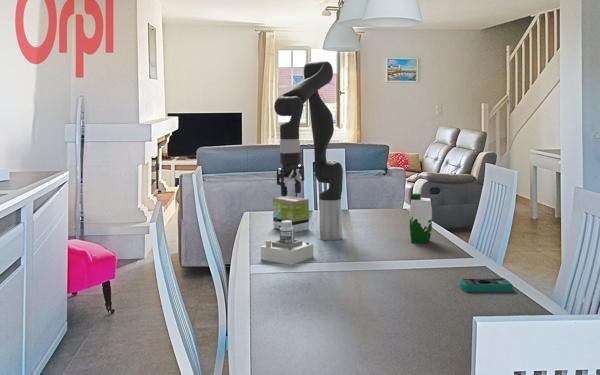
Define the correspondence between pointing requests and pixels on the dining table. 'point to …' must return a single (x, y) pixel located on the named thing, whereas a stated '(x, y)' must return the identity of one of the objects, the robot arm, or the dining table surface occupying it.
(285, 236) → the pill bottle
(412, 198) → the milk carton
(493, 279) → the digital multimeter
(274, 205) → the tea box
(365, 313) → the dining table surface
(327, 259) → the dining table surface
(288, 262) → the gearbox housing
